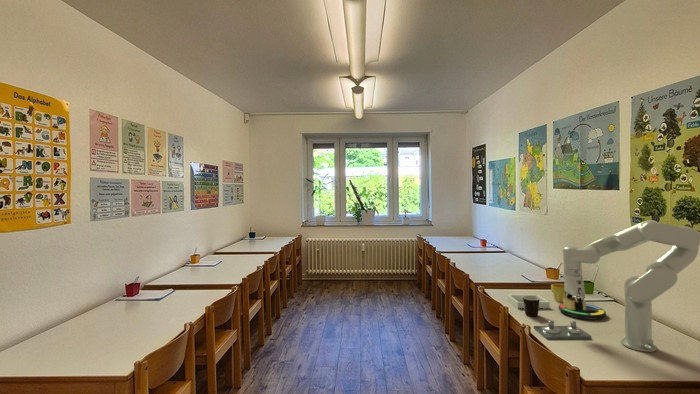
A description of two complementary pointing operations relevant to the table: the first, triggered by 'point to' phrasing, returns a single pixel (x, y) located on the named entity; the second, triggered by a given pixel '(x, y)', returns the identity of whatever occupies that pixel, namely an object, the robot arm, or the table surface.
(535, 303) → the coffee mug
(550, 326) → the hub
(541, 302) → the tray
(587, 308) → the electronic game
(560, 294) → the plant pot
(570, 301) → the collar
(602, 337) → the table surface
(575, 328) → the stand
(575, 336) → the gray rectangular plate
